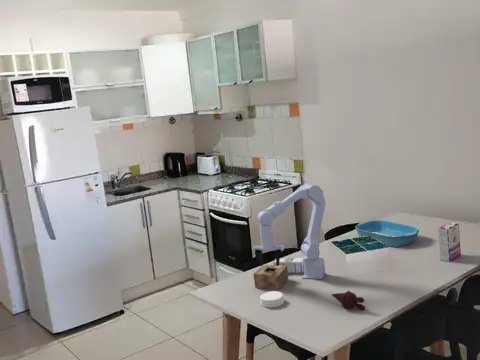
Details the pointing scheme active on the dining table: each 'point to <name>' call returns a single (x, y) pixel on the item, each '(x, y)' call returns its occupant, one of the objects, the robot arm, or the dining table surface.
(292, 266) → the syrup box
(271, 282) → the box
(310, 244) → the robot arm
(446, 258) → the candy bar box
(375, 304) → the dining table surface
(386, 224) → the casserole dish
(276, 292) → the coaster
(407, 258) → the dining table surface
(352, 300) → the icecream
